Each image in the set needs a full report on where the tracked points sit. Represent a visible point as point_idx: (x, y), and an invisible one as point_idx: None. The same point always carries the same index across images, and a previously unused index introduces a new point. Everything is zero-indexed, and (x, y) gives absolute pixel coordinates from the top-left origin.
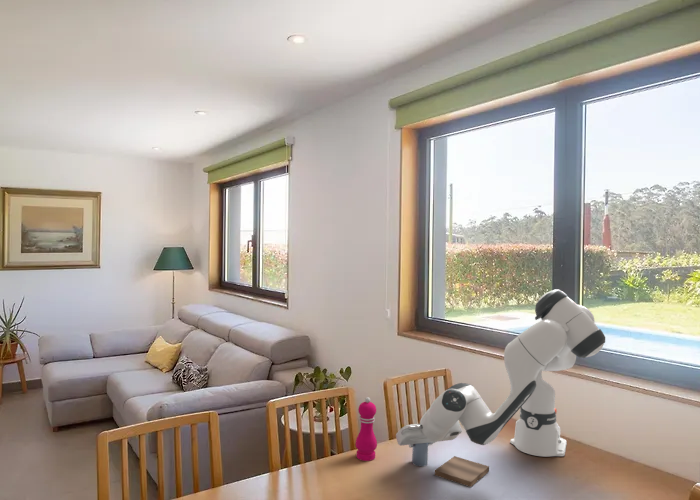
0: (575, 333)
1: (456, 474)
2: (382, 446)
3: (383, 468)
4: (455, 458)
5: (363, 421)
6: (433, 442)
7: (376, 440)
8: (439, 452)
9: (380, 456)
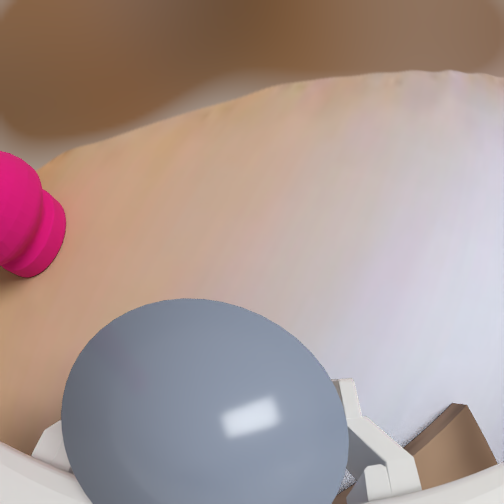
0: None
1: None
2: (157, 142)
3: (39, 375)
4: (455, 438)
5: None
6: (347, 467)
7: (6, 218)
8: (427, 278)
9: (85, 245)
